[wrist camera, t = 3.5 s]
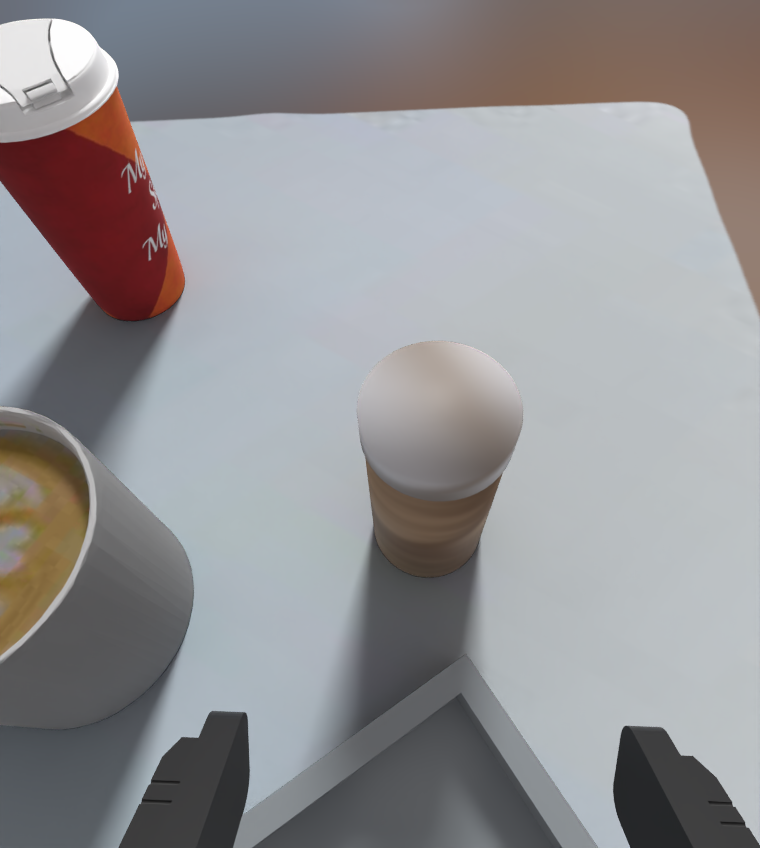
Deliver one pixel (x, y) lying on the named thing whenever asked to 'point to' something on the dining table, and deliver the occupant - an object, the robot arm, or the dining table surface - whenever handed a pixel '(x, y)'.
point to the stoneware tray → (423, 782)
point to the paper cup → (83, 168)
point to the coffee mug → (79, 582)
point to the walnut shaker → (435, 450)
